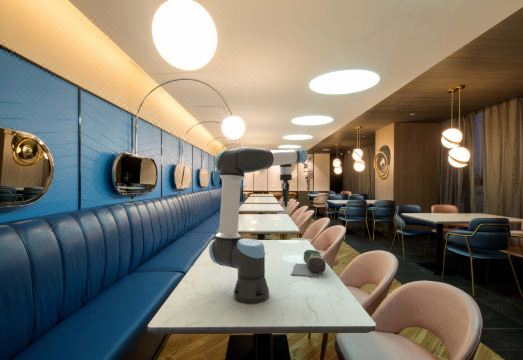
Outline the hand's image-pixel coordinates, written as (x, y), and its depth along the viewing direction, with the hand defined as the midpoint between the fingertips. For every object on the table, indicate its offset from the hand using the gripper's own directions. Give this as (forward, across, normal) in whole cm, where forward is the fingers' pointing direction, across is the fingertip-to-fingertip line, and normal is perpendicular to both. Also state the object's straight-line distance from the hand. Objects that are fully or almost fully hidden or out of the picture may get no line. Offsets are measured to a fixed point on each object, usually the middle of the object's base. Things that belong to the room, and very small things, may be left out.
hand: (286, 211), depth 166 cm
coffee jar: (+25, -6, -16) cm, 30 cm away
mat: (+29, -18, -14) cm, 37 cm away
